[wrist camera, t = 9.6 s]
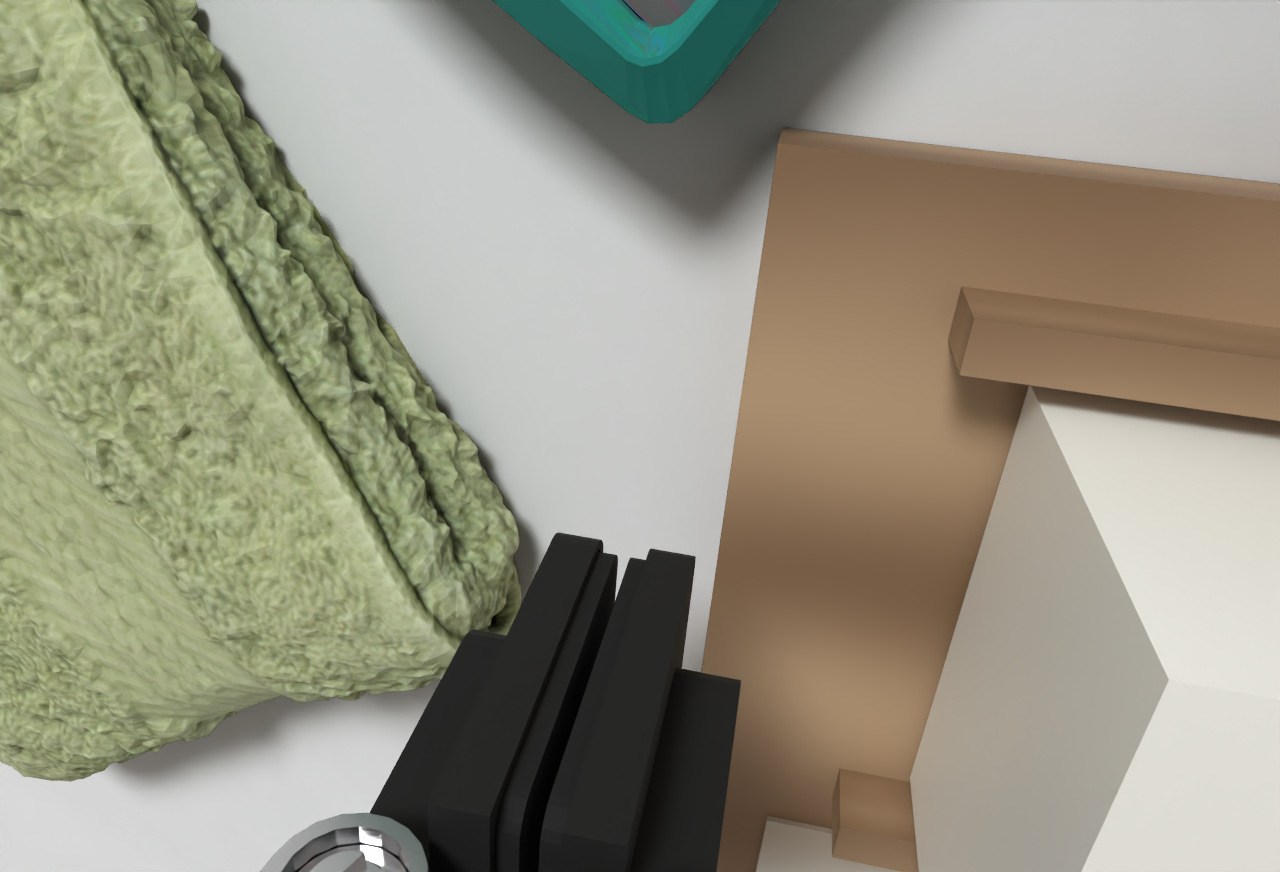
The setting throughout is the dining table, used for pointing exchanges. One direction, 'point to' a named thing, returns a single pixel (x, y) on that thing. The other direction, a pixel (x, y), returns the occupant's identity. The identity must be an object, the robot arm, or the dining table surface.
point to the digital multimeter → (645, 45)
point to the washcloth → (201, 417)
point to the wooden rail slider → (934, 434)
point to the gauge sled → (1114, 652)
